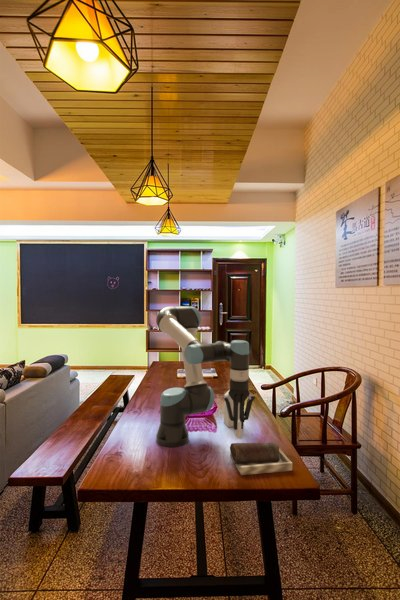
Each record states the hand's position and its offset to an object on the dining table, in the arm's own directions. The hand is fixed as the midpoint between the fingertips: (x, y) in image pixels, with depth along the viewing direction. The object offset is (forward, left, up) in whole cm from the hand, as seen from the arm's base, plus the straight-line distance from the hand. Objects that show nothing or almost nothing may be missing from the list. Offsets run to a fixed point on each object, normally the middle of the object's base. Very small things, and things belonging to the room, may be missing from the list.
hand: (238, 436), depth 131 cm
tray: (+9, 0, -11) cm, 15 cm away
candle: (-3, +2, -7) cm, 8 cm away
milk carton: (+9, +39, -12) cm, 42 cm away
